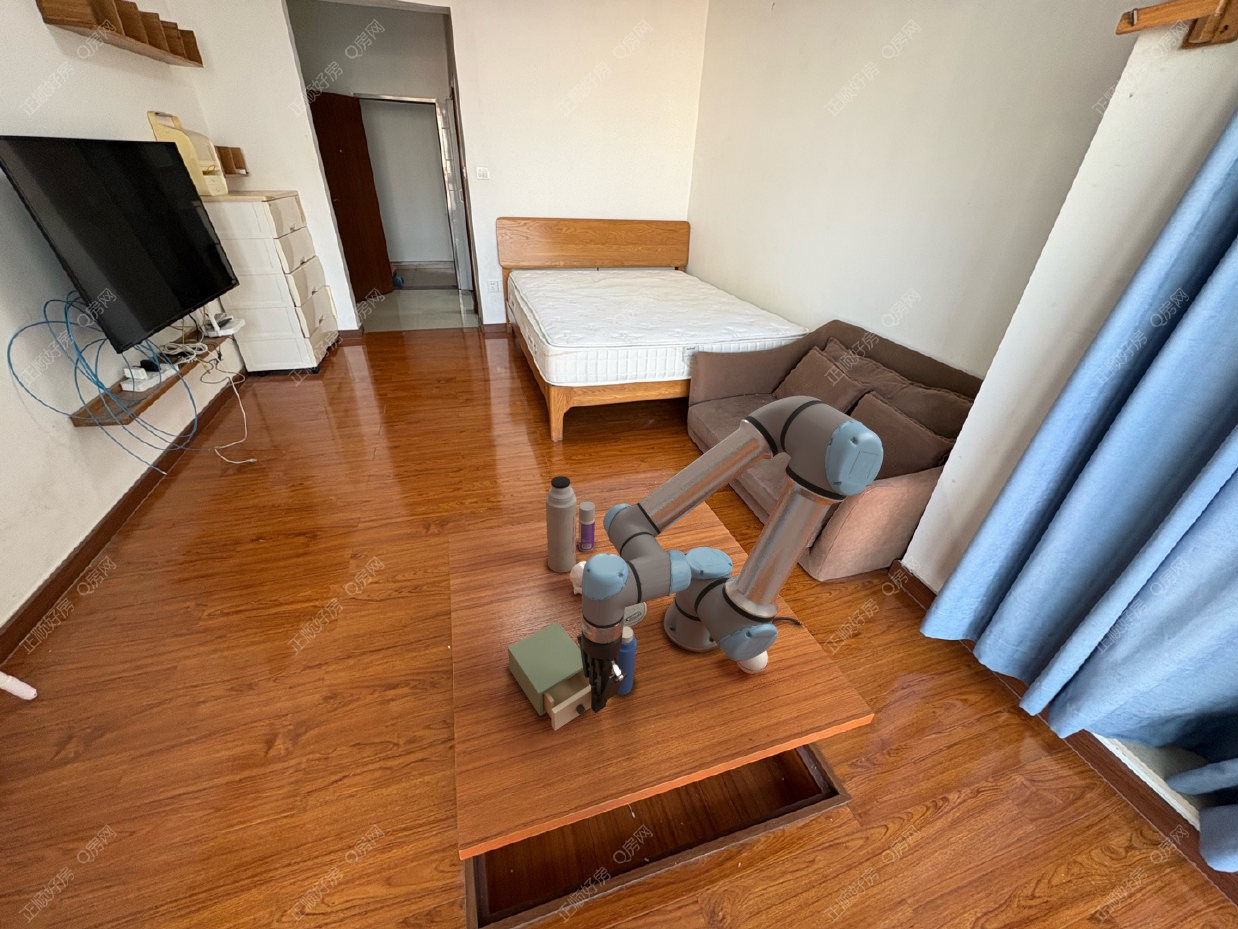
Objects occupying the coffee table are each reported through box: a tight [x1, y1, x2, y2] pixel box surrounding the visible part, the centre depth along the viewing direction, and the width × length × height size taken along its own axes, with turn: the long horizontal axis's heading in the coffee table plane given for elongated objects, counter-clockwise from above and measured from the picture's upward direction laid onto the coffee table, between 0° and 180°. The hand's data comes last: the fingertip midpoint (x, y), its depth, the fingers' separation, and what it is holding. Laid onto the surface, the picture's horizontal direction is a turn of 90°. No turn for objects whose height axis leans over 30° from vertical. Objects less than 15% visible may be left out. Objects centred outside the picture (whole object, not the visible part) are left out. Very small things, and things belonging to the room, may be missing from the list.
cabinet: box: [507, 621, 589, 717], centre depth 110 cm, size 14×13×8 cm
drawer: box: [542, 670, 592, 731], centre depth 106 cm, size 14×11×6 cm
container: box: [577, 500, 596, 553], centre depth 146 cm, size 5×5×15 cm
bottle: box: [611, 626, 638, 696], centre depth 107 cm, size 5×5×17 cm
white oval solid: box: [735, 650, 773, 675], centre depth 114 cm, size 10×7×7 cm
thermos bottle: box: [545, 475, 577, 573], centre depth 136 cm, size 8×8×28 cm
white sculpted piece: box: [568, 560, 587, 595], centre depth 131 cm, size 6×8×12 cm
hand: (598, 707), depth 103 cm, fingers closed
